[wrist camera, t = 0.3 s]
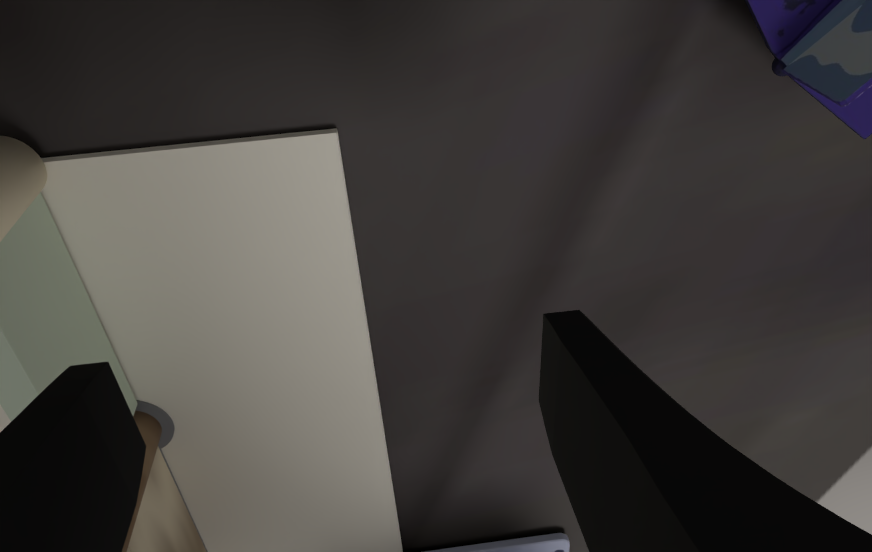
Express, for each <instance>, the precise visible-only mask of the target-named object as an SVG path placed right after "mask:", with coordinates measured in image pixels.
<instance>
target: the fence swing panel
mask: <svg viewBox="0 0 872 552" xmlns="http://www.w3.org/2000/svg"><path fill="white" fill-rule="evenodd" d="M46 181H47V171H46V167H45V164H44V163H43V161H42V159H41V158H40V156H39V155H38V154H37V153H36V152H35V151H34V150H33V149H32V148H31V147H29V146H28V145H26V144H25V143H23V142H21V141H19V140H17V139H14V138H11V137H7V136H0V405H1V406H2V408H3V410H4V411H5V413H6V414H7V416H8V418H9V419H10V421H13V420H14V419H15V418H16V417H17V416H18V415H19V414H20V413H21V412H22V411H23V410H24V409H25V408H26V407H27V406H28V405H29V404H30V403H31V402H32V401H33V400H34V399H35V398H36V397H37V396H38V395H39V394H40V393H41V392H42V391H43V390H44V389H45V388H46V387H47V386H48V385H49V384H50V383H52V382H53V381H54V380H55V379H56V378H57V377H58V376H59V375H60V374H61V373H62V372H64V371H65V370H66V369H67V368H68V367H69V366H72V365H81V364H90V363H99V362H109V364H110V367H111V369H112V371H113V373H114V375H115V378H116V380H117V382H118V384H119V387H120V389H121V391H122V393H123V395H124V398H125V400H126V402H127V404H128V407H129V409H130V411H131V413H132V415H133V416H134V413H135V410H136V407H137V404H138V403H137V401H136V399H135V397H134V394H133V392H132V390H131V388H130V386H129V384H128V381H127V379H126V377H125V375H124V373H123V370H122V368H121V366H120V364H119V362H118V360H117V357H116V355H115V353H114V351H113V349H112V346H111V344H110V342H109V340H108V338H107V336H106V333H105V331H104V329H103V327H102V325H101V323H100V320H99V318H98V316H97V314H96V312H95V309H94V307H93V305H92V303H91V301H90V299H89V296H88V294H87V292H86V290H85V288H84V285H83V283H82V281H81V279H80V277H79V275H78V272H77V270H76V268H75V266H74V264H73V262H72V259H71V257H70V255H69V253H68V251H67V248H66V246H65V244H64V242H63V240H62V238H61V235H60V233H59V231H58V229H57V227H56V224H55V222H54V220H53V218H52V216H51V214H50V211H49V209H48V207H47V205H46V203H45V200H44V198H43V196H42V194H41V191H42V189H43V188H44V186H45V184H46Z"/></svg>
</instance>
